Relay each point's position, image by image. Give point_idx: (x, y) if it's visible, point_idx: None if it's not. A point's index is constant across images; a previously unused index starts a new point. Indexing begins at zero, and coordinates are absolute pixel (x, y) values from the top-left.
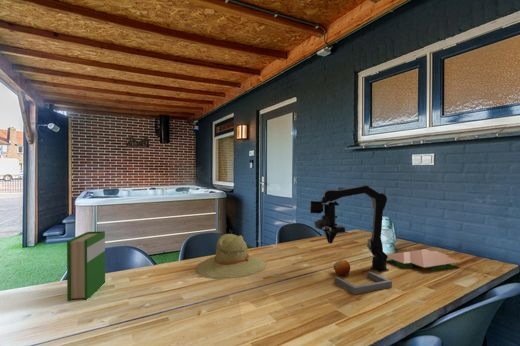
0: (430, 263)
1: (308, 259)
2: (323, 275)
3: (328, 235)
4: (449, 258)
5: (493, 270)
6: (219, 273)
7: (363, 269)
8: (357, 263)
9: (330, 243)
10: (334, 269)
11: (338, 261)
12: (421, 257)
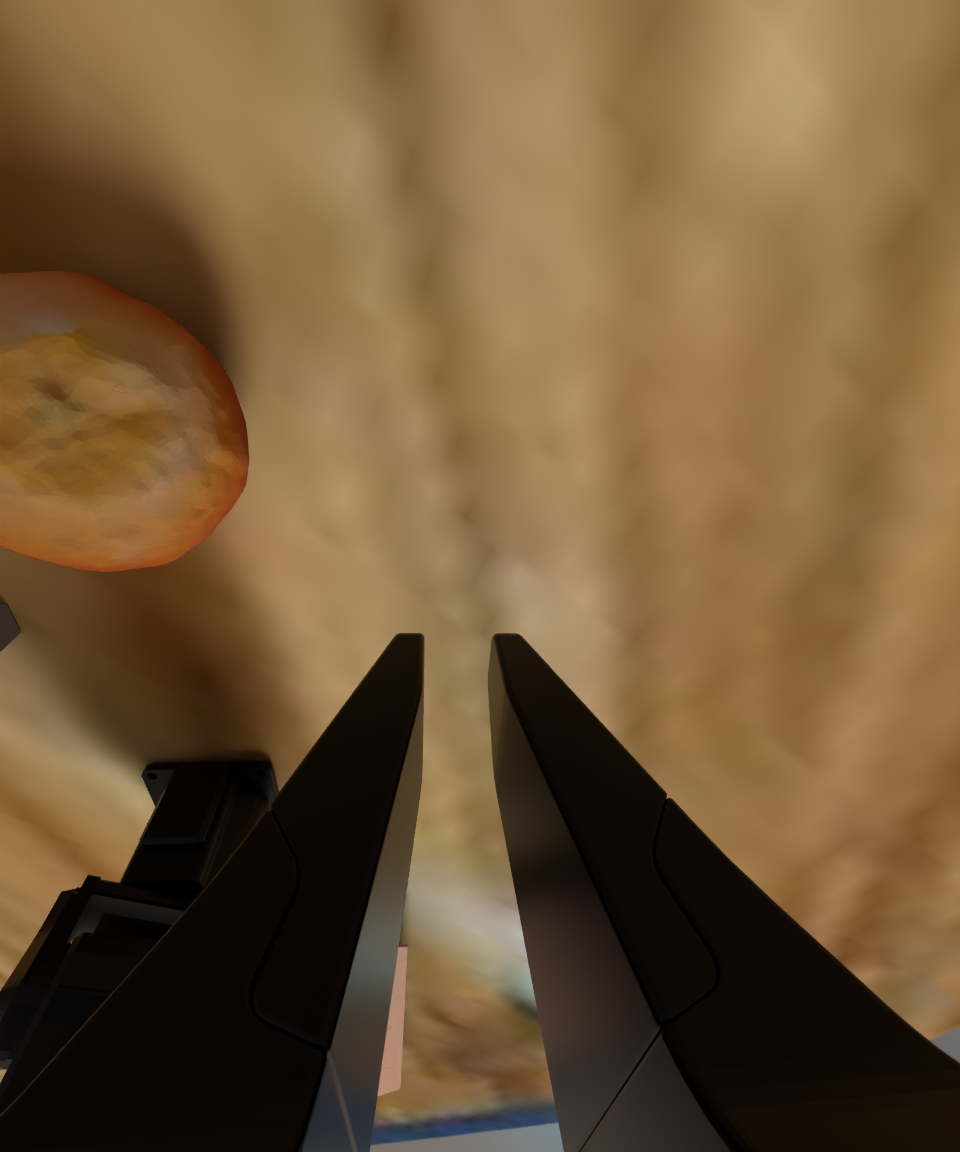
0: None
1: (908, 350)
2: (121, 9)
3: (569, 920)
4: None
5: None
6: None
7: (257, 700)
8: (438, 747)
9: (398, 642)
10: (133, 297)
11: (100, 429)
12: None
